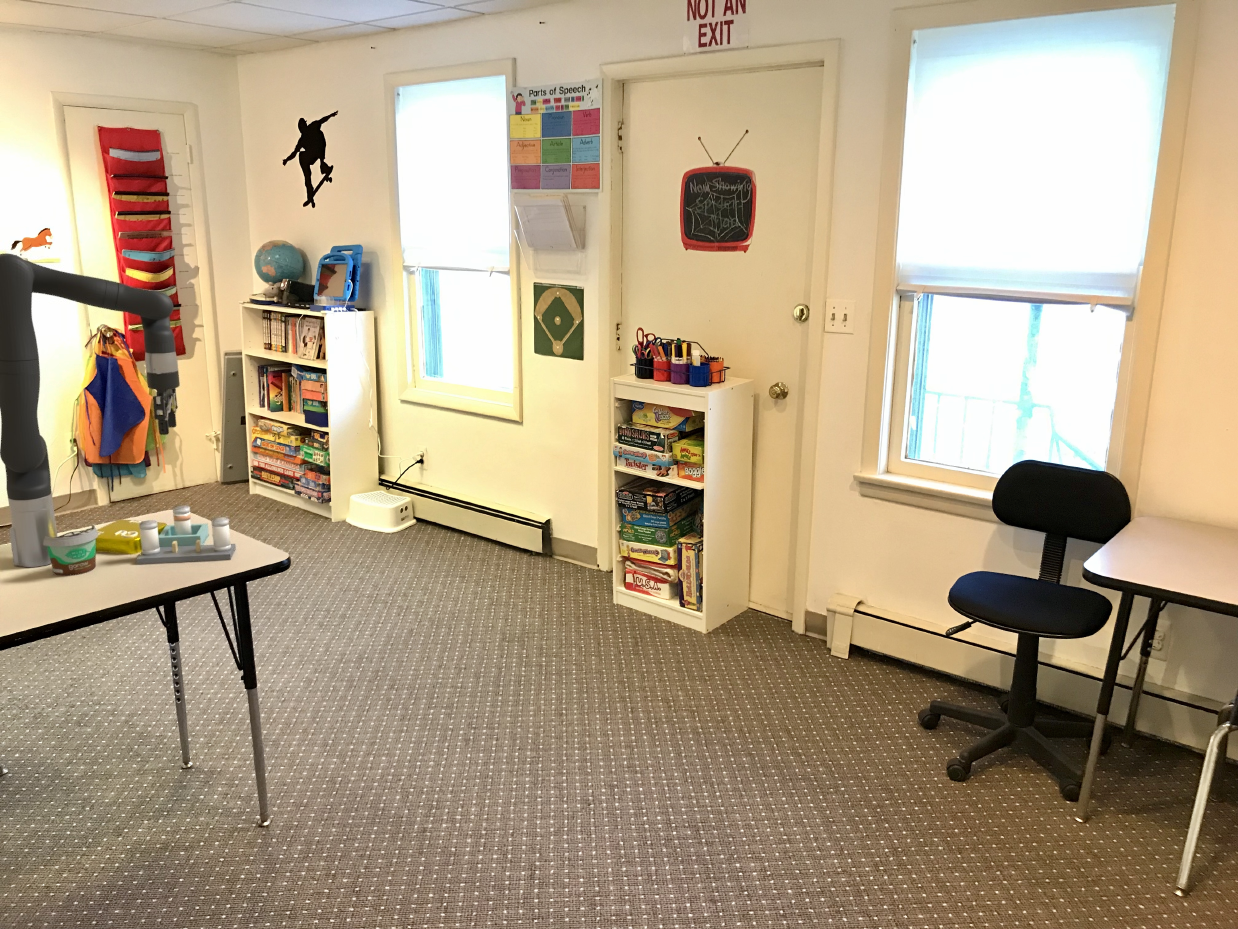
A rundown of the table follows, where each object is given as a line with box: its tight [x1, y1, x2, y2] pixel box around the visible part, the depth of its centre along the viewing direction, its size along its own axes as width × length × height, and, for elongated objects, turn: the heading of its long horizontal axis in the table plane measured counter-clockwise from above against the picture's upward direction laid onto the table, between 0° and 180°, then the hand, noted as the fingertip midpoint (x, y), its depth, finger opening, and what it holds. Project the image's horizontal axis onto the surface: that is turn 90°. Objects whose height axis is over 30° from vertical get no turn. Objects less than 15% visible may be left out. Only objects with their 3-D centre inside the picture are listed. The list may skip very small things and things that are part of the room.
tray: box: [158, 523, 210, 547], centre depth 250 cm, size 10×10×4 cm
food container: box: [43, 524, 98, 577], centre depth 227 cm, size 12×6×10 cm, turn 147°
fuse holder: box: [136, 516, 237, 565], centre depth 239 cm, size 22×8×10 cm, turn 103°
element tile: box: [95, 519, 167, 555], centre depth 248 cm, size 15×15×5 cm
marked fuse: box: [172, 505, 192, 536], centre depth 249 cm, size 4×4×9 cm
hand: (168, 430), depth 245 cm, fingers open, 8 cm apart
